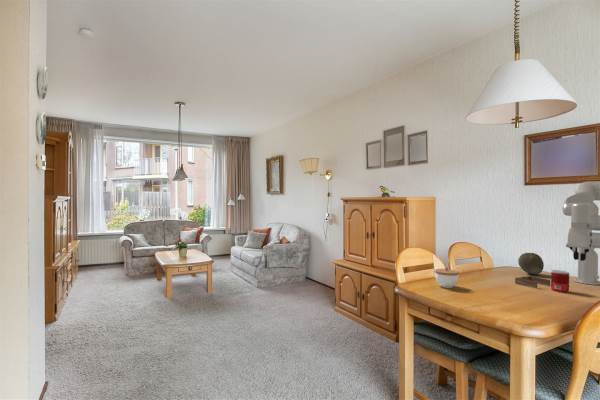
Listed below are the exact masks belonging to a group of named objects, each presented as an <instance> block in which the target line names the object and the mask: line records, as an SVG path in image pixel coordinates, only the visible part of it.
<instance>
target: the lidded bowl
mask: <svg viewBox="0 0 600 400" xmlns="http://www.w3.org/2000/svg"><path fill="white" fill-rule="evenodd" d="M434 276H435V281H436V283H437V284H438V285H439V287H441V288H444V289H452V288H454V287H455V286H456V285H457V283H458V281H459V271H458V270H455V269H451V268H449V267H447V266H446V267H445V268H435V269H434Z"/></svg>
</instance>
